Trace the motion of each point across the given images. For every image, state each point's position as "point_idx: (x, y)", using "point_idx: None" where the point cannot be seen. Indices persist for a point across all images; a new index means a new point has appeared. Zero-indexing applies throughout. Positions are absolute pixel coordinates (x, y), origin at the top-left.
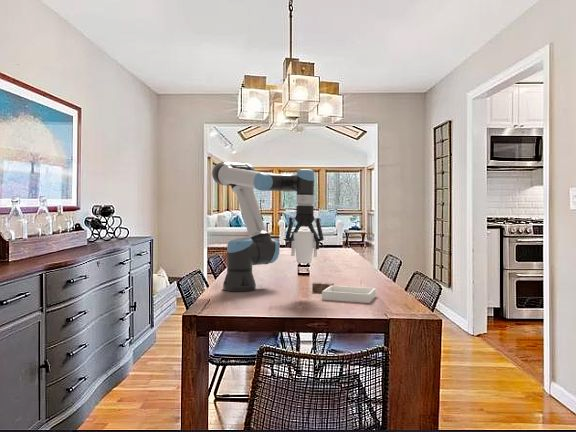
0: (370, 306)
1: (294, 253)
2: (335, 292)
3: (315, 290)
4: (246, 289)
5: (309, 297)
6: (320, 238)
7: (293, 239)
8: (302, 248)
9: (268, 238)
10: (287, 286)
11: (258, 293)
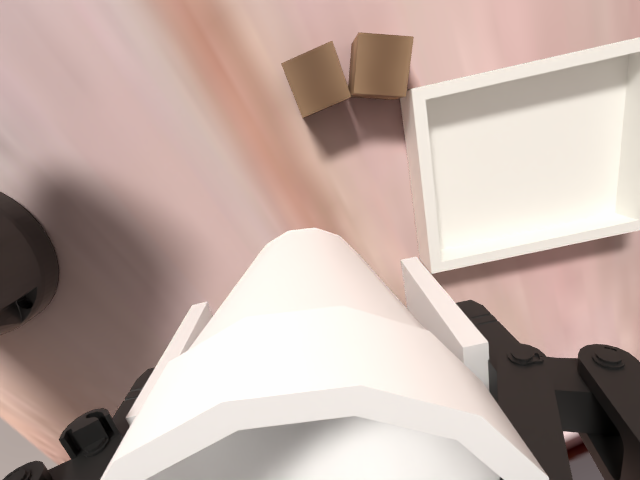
0: (623, 273)
1: (205, 321)
2: (492, 260)
3: (318, 111)
4: (49, 294)
5: (355, 248)
6: (604, 443)
7: (120, 439)
8: (342, 431)
9: None
10: (86, 28)
11: (126, 291)
